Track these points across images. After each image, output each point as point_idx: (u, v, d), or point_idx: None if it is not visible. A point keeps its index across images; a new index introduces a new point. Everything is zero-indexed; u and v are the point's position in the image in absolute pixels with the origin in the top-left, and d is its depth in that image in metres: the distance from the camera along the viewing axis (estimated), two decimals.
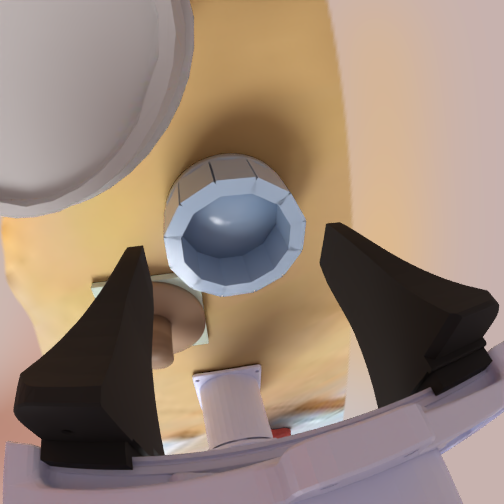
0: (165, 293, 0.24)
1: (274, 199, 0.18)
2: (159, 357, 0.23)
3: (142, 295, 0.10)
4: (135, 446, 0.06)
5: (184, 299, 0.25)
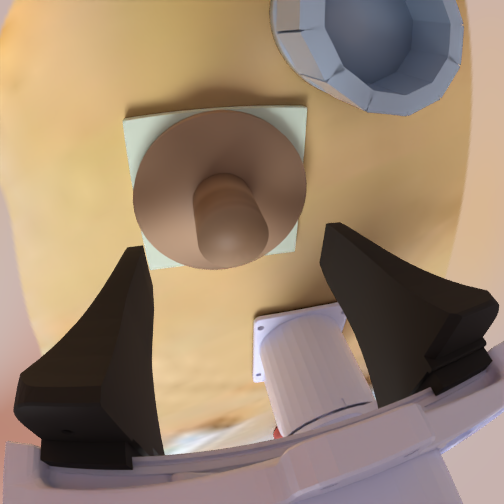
0: (255, 127, 0.14)
1: None
2: (243, 234, 0.13)
3: (142, 295, 0.10)
4: (135, 446, 0.06)
5: (283, 144, 0.15)
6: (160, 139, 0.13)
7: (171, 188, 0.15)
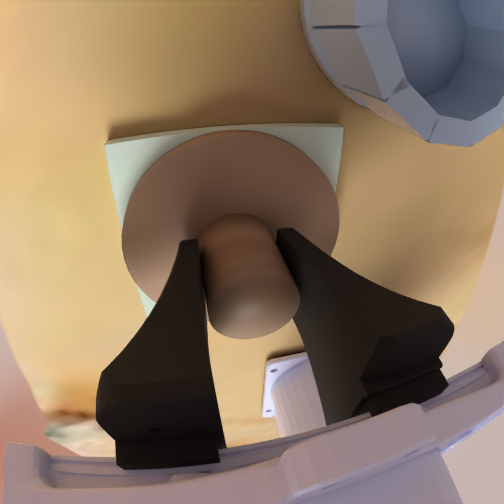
0: (280, 155, 0.11)
1: None
2: (267, 304, 0.10)
3: (202, 287, 0.10)
4: (219, 438, 0.06)
5: (315, 176, 0.12)
6: (154, 171, 0.10)
7: (170, 232, 0.12)
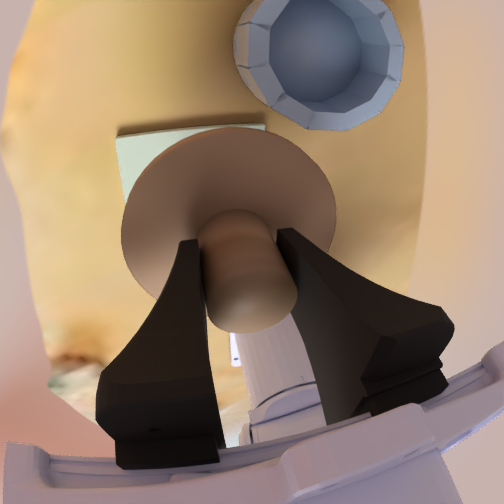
0: (279, 152, 0.11)
1: (374, 9, 0.12)
2: (265, 299, 0.10)
3: (202, 287, 0.10)
4: (218, 438, 0.06)
5: (312, 173, 0.12)
6: (154, 167, 0.10)
7: (170, 228, 0.12)
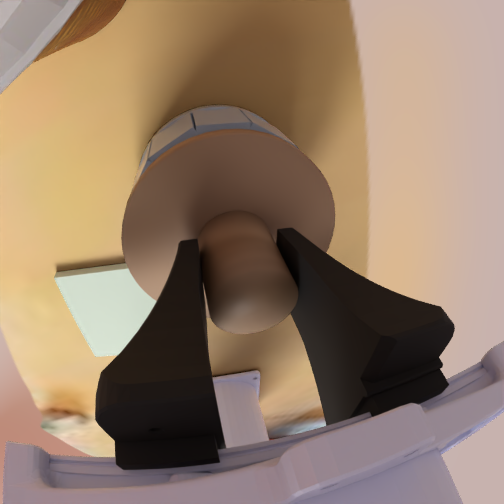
0: (285, 156, 0.11)
1: None
2: (266, 299, 0.10)
3: (201, 287, 0.10)
4: (218, 438, 0.06)
5: (315, 180, 0.12)
6: (161, 163, 0.10)
7: (171, 225, 0.12)
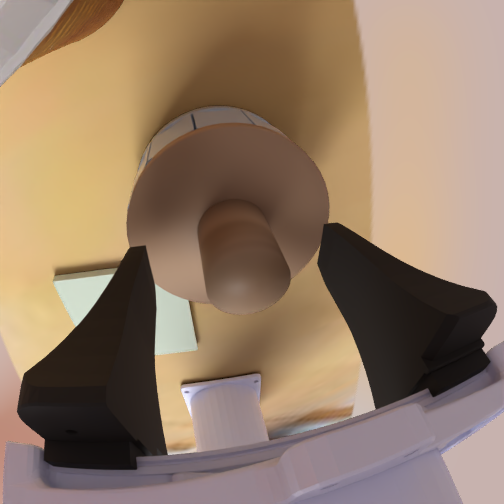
0: (280, 148, 0.12)
1: None
2: (260, 280, 0.11)
3: (145, 295, 0.10)
4: (139, 446, 0.06)
5: (309, 171, 0.13)
6: (165, 153, 0.11)
7: (174, 212, 0.13)
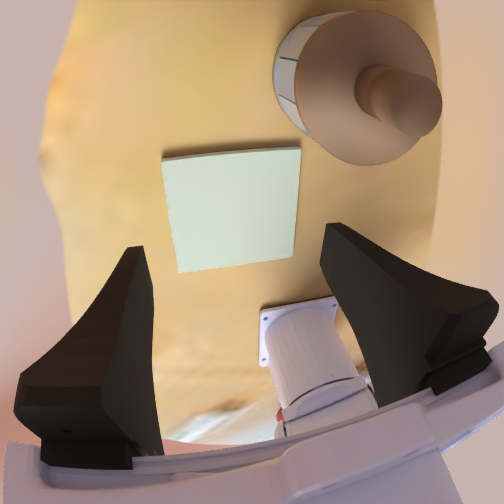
0: (411, 36, 0.12)
1: None
2: (426, 105, 0.12)
3: (142, 295, 0.10)
4: (135, 446, 0.06)
5: (427, 57, 0.13)
6: (342, 17, 0.12)
7: (341, 64, 0.13)
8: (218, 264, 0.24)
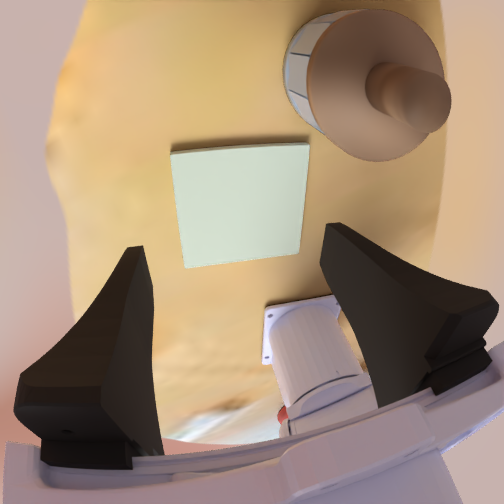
0: (420, 35, 0.13)
1: None
2: (436, 101, 0.12)
3: (142, 295, 0.10)
4: (135, 446, 0.06)
5: (435, 56, 0.13)
6: (354, 14, 0.12)
7: (352, 61, 0.13)
8: (224, 260, 0.24)
